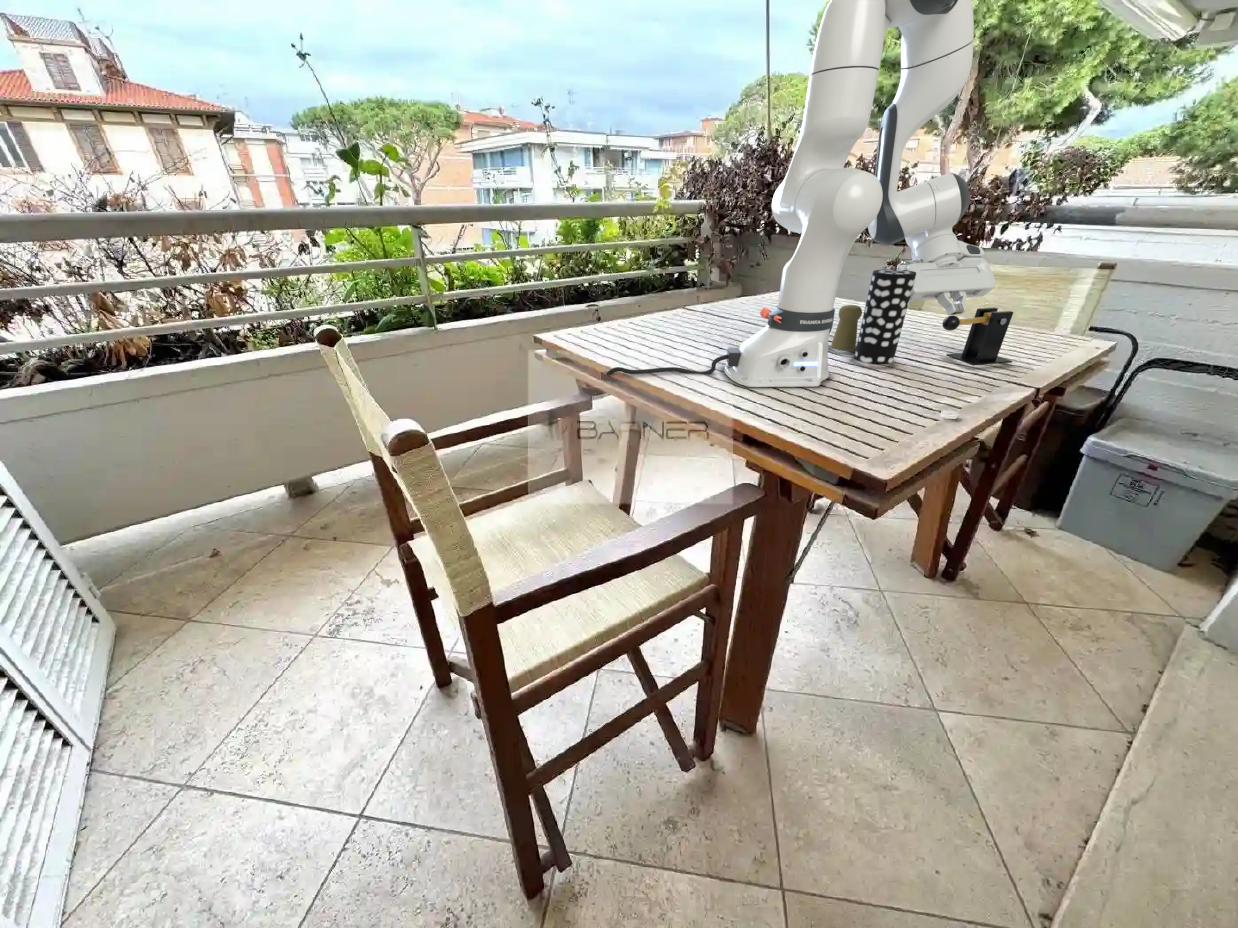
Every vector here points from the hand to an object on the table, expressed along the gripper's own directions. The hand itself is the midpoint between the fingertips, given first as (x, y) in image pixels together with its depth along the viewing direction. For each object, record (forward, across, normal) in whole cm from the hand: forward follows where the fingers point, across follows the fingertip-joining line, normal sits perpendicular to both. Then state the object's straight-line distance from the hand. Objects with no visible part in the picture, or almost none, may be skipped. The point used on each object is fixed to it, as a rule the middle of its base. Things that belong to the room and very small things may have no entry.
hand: (957, 313), depth 104 cm
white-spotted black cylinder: (+4, -13, +12) cm, 19 cm away
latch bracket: (+8, +10, +9) cm, 15 cm away
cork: (-3, -14, +20) cm, 25 cm away
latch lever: (+2, +5, +3) cm, 6 cm away
